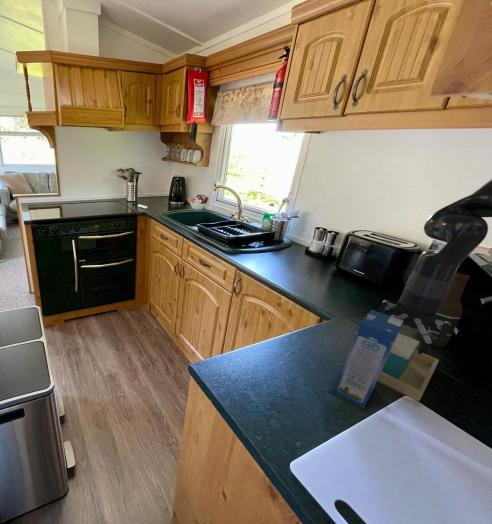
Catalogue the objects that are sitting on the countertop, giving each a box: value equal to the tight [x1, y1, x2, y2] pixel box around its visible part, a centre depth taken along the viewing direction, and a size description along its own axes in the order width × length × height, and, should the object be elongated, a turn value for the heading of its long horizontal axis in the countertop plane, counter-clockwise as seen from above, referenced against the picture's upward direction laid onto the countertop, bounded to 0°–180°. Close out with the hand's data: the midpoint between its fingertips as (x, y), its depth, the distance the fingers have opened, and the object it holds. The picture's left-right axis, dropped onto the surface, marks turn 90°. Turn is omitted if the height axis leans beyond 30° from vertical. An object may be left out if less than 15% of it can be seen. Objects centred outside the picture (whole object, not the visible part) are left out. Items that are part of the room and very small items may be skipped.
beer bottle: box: [415, 272, 471, 348], centre depth 92 cm, size 8×8×24 cm
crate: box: [377, 349, 440, 402], centre depth 81 cm, size 16×22×3 cm
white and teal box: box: [381, 332, 421, 380], centre depth 80 cm, size 6×12×8 cm, turn 128°
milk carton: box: [333, 309, 404, 409], centre depth 69 cm, size 10×6×20 cm, turn 131°
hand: (399, 344), depth 79 cm, fingers open, 8 cm apart
